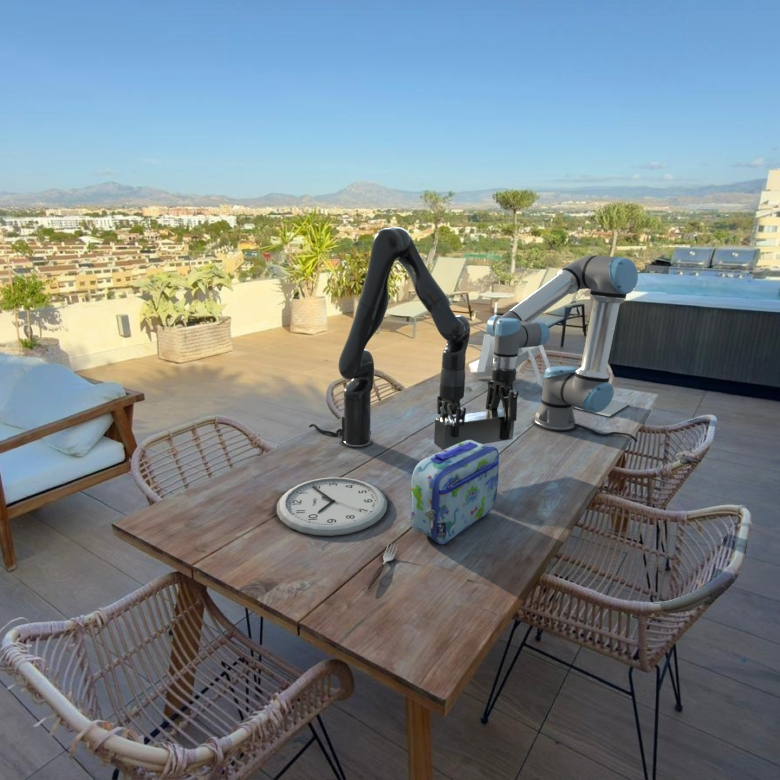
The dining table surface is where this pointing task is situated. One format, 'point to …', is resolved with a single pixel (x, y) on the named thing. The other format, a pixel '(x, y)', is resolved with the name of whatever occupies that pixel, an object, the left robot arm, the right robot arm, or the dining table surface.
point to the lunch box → (453, 489)
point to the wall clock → (331, 506)
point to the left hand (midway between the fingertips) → (449, 432)
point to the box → (471, 429)
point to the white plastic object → (486, 360)
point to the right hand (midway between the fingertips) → (498, 435)
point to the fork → (386, 558)
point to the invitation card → (610, 408)
